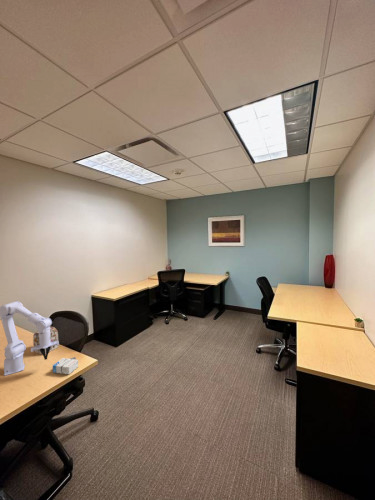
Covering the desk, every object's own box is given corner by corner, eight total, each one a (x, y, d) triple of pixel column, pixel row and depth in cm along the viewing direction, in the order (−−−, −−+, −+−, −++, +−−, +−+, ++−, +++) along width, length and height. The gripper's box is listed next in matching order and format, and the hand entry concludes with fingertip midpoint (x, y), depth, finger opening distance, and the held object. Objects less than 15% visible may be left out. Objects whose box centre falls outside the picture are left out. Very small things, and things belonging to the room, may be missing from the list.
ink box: (52, 372, 127) (68, 374, 125) (52, 365, 127) (68, 367, 124) (63, 364, 135) (78, 366, 133) (63, 357, 135) (78, 359, 133)
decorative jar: (43, 355, 147) (42, 331, 147) (33, 352, 151) (32, 329, 151) (59, 347, 159) (58, 324, 158) (48, 344, 163) (47, 322, 162)
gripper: (30, 344, 120) (31, 366, 121) (58, 337, 129) (59, 357, 129) (30, 339, 126) (31, 360, 127) (58, 333, 134) (59, 352, 135)
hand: (45, 358), depth 128 cm, fingers closed
